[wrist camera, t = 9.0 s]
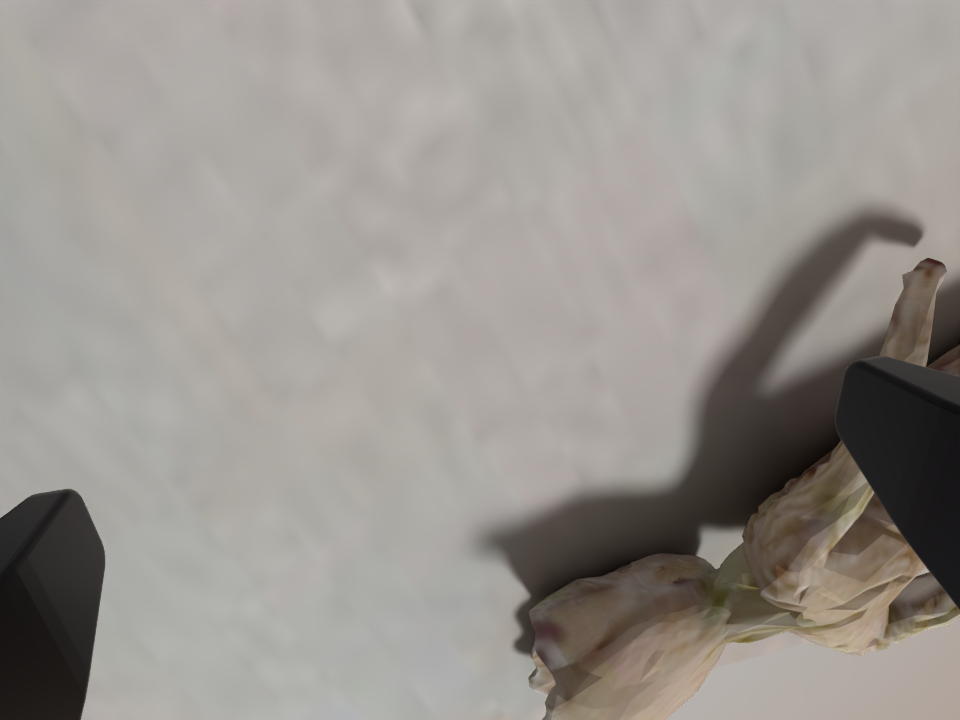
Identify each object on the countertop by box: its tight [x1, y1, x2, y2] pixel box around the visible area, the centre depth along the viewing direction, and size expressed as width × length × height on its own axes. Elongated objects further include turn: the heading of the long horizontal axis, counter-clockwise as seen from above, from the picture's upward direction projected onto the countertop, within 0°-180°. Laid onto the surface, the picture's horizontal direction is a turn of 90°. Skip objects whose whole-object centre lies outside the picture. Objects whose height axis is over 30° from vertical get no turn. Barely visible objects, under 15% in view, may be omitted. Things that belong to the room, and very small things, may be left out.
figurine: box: [529, 258, 960, 720], centre depth 27 cm, size 17×6×30 cm
